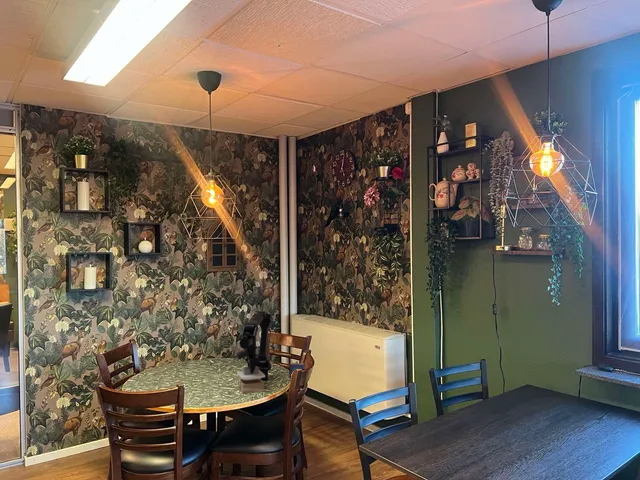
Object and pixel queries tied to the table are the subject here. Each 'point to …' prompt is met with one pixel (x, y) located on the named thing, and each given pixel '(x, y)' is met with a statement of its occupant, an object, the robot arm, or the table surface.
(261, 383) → the box
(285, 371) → the table surface
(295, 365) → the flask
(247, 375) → the lid
